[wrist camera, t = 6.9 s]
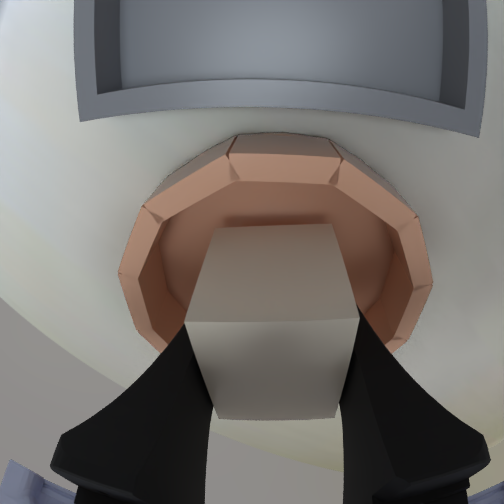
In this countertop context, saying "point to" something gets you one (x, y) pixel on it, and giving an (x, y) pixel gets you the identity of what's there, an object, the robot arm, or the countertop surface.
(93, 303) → the countertop surface
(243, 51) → the parts tray
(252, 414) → the stone block
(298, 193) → the bowl
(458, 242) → the countertop surface
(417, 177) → the countertop surface
